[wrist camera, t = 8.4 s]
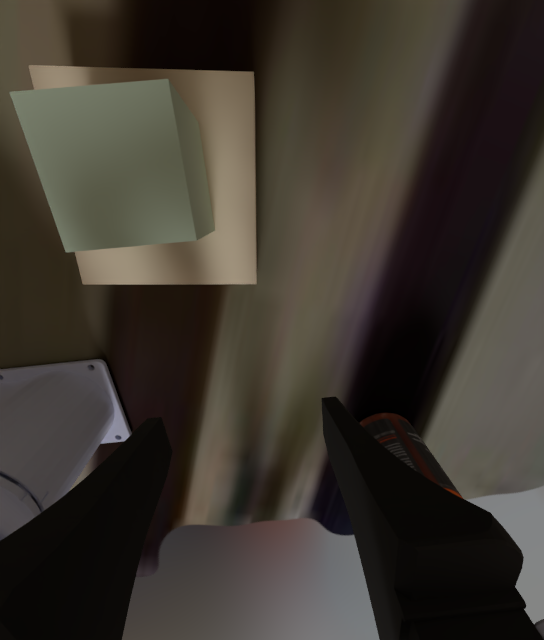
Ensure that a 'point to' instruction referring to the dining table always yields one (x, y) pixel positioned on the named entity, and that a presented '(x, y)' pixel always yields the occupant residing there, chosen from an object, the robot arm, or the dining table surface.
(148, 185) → the sage cube
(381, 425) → the supplement bottle
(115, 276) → the birch base
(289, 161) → the dining table surface
